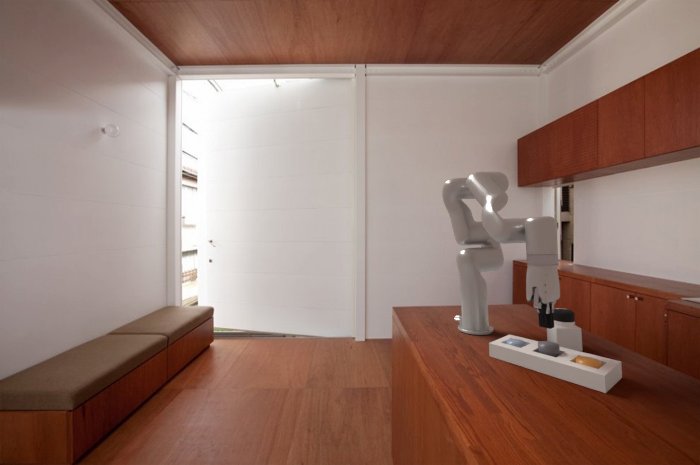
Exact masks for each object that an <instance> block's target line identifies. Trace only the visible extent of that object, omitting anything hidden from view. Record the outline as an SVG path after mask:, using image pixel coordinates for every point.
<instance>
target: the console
mask: <svg viewBox="0 0 700 465" xmlns="http://www.w3.org/2000/svg"><path fill="white" fill-rule="evenodd" d="M507 339H519V340H523V341H524V342H525V346H524V347H522V348H519V347H516V346H512V345H508V344H507V343H506V340H507ZM538 342H540V341H538V340H534V339H530V338H526V337H522V336H518V335H513V334H507V335H505V336H503V337H500V338H498V339H495V340H493V341H490V342H488V351H489V352H488V353H489V357H490V358H493V359H494V358H495V359H497V360H500V361H503V362H505V363H506V362H507V363H509V364H513V365H517V366H519V367H522V368H525V369H529V370H532V371H534V372H538V373H541V374H544V375H547V376H549V377H552V378H553V377H554V378H557V379H559V380H562V381H566V382H569V383H573V384H576V385H579V386H581V387H585V388H587V389H591V390H594V391H598V392H601V393H604V394H607V393H608V392H609V391H610V390H611V389H612V388H613V387H614V386H615V385H616V384H618V382H619V381H620V380H621V379H623V371H622V366H623V365H622V361H620V360H616V359H612V358H608V357H603V356H601V355H597V354H592V353H587V352H583V351H582V352H580V351H576V350H572V349H568V348H563V347H559V349H560V356H558V357H552V356H549V355H545V354H541V353H538ZM578 356H586V357H591V358H595V359H597V360H599V361H600V362H601V367H600V368H599V369H597V368H593V367H589V366H586V365H582V364H578V363H576V357H578Z"/></svg>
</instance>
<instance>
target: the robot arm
mask: <svg viewBox="0 0 700 465" xmlns="http://www.w3.org/2000/svg"><path fill="white" fill-rule="evenodd" d="M509 184H510V183H509V178H508V177H507V175H506V174H505V173H503V172H501V171H476V172H474V173H472V174H470V175H469V176H468V177H455V178H451V179H448V180H446V181H445V182H444V184H443V186H442V190H441V192H442V194H441V195H442V201H443V204H444V207H445V208H446V211H447V213H448V215H449V218H450V223H451V228H452V231H453V235H454V238H455V241H456V243H457V244H458V245H459V246H466V247H467V246H469V247H468V248H463V249H461V250H459V251H458V252H457V254H456V265H457V269H458V275H459V283H460V284H459V285H460V286H459V287H460V304H461V315H458V314H456V315H455V316H454V320H453V321H455V322H458V323H459V324H458V325H457V329H458V331H459V332H462V333H464V334H468V335H473V336H484V335H491V334H492V333H493V332H494V327H493V326H492V325H489V308H488V307H489V306H488V305H489V302H488V299H489V298H488V284H487V281H486V280H485V278H484V276H483V275H482V274H481V273H488V272H497V271H499V270H501V269H502V268H503V267H504V263H505V259H504V252H503V250H502V245H503V244H504V245H505V244H525V251H526V252H525V253H526V255H525V256H526V267H527V269H526V279H525V282H526V283H525V284H526V286H525V287H526V288H525V290H526V291H525V292H526V293H525V295H526V300H527V302H529V303H532V302H533V308H535V309H536V310H537V313H538V314H537V315H538V327H540V328H544V329H547V328H549V329H551V328H554V314H553V312H554V309H555V304H556V303H557V300H559V299H560V298H561V285H560V278H559V272H558V267H559V266H560V264H559V263H560V262H559V260H560V259H559V249H558V235H557V234H558V233H557V221H556V219H555V217H553V216H550V215H549V216H547V215H545V216H542V215H541V216H532V217H527V218H526V217H525V218H524V217H522V218H519V217H517V218H516V217H515V218H513V217H512V218H503V217H502V216H501V215H500V213H498V212H499V211H502V210H503V208H504V207H506V205H507V204H508V201H509V196H508V194H507V191H508V189H509ZM463 200H476V201H477V202H478V203H479V205H480V206H481V207H482V210H481V213H480V214H481V216H480V219H481V221H475V219H474V217H473V213H472V212H473V211H472V210H471V208H470V206H468V204H466V202H464V201H463ZM470 246H480V247H470Z"/></svg>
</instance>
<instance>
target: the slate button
mask: <svg viewBox="0 0 700 465" xmlns="http://www.w3.org/2000/svg"><path fill="white" fill-rule="evenodd" d="M506 343H507V344H508V345H512V346H516V347H519V348H522V347H524V346H525V342H524V341H523V340H519V339H507V340H506Z"/></svg>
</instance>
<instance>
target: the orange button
mask: <svg viewBox="0 0 700 465" xmlns="http://www.w3.org/2000/svg"><path fill="white" fill-rule="evenodd" d="M576 363H578V364H582V365H586V366H589V367H593V368H597V369H599V368H600V367H601V362H600V361H599V360H597V359H595V358H591V357H586V356H578V357H576Z"/></svg>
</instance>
